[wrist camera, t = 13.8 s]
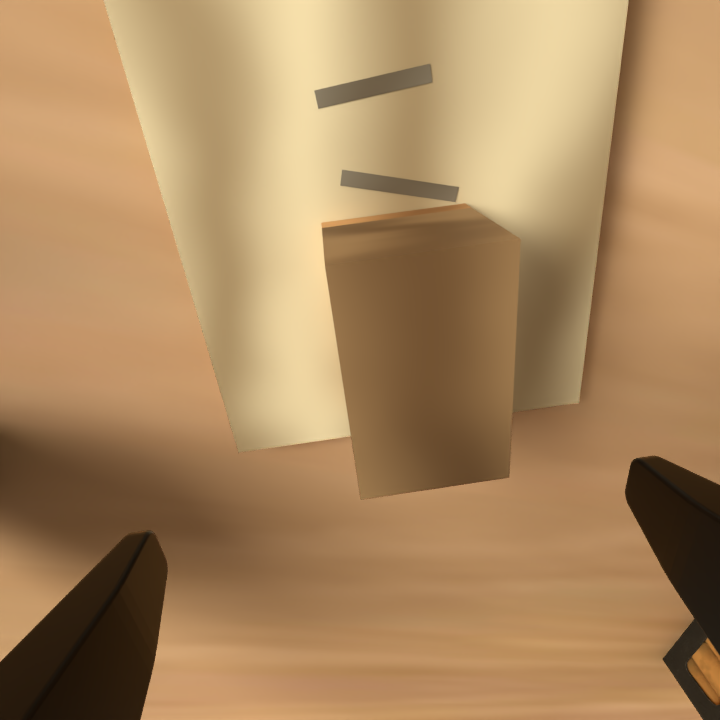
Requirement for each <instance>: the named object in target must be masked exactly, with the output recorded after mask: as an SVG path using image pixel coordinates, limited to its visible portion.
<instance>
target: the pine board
mask: <svg viewBox="0 0 720 720" xmlns="http://www.w3.org/2000/svg"><path fill="white" fill-rule="evenodd" d="M628 2H629V0H104V3H105V7H106V10H107V13H108V17H109V20H110V23H111V27H112V30H113V33H114V37H115V40H116V44H117V47H118V50H119V54H120V57H121V60H122V64H123V67H124V70H125V74H126V77H127V80H128V84H129V87H130V90H131V94H132V97H133V100H134V104H135V107H136V111H137V114H138V117H139V121H140V124H141V127H142V131H143V134H144V137H145V141H146V144H147V147H148V151H149V154H150V157H151V161H152V164H153V168H154V171H155V174H156V178H157V181H158V184H159V188H160V191H161V194H162V198H163V201H164V204H165V208H166V211H167V214H168V218H169V221H170V225H171V228H172V231H173V235H174V238H175V241H176V245H177V248H178V251H179V255H180V258H181V261H182V265H183V268H184V271H185V275H186V278H187V281H188V285H189V288H190V292H191V295H192V298H193V302H194V305H195V308H196V312H197V315H198V318H199V322H200V325H201V328H202V332H203V335H204V338H205V342H206V345H207V349H208V352H209V355H210V359H211V362H212V365H213V369H214V372H215V375H216V379H217V382H218V385H219V389H220V392H221V395H222V399H223V402H224V405H225V409H226V412H227V416H228V419H229V422H230V426H231V429H232V432H233V436H234V439H235V442H236V446H237V449H238V452H239V453H240V452H247V451H254V450H261V449H267V448H274V447H281V446H288V445H295V444H302V443H308V442H315V441H322V440H329V439H336V438H342V437H349V436H351V434H350V427H349V420H348V414H347V407H346V401H345V394H344V388H343V381H342V375H341V368H340V362H339V355H338V349H337V342H336V335H335V329H334V322H333V316H332V309H331V303H330V296H329V290H328V283H327V277H326V270H325V261H324V249H323V237H322V225H321V223H323V222H330V221H338V220H345V219H353V218H360V217H367V216H375V215H382V214H390V213H397V212H404V211H412V210H419V209H426V208H434V207H441V206H449V205H456V204H463V203H465V204H467V205H469V206H470V207H472V208H473V209H475V210H476V211H478V212H479V213H481V214H483V215H484V216H486V217H487V218H489V219H490V220H492V221H494V222H495V223H497V224H498V225H500V226H501V227H503V228H505V229H506V230H508V231H509V232H511V233H512V234H514V235H515V236H517V237H519V238H520V239H521V245H520V266H519V286H518V307H517V328H516V349H515V370H514V391H513V412H520V411H526V410H533V409H540V408H547V407H554V406H561V405H567V404H574V403H579V399H580V391H581V383H582V375H583V367H584V359H585V350H586V342H587V334H588V326H589V318H590V310H591V302H592V294H593V286H594V277H595V269H596V261H597V253H598V245H599V237H600V229H601V221H602V213H603V205H604V196H605V188H606V180H607V172H608V164H609V156H610V148H611V140H612V132H613V124H614V115H615V107H616V99H617V91H618V83H619V75H620V67H621V59H622V51H623V43H624V34H625V26H626V18H627V10H628ZM513 412H512V413H513Z"/></svg>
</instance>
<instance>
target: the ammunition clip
mask: <svg viewBox="0 0 720 720" xmlns="http://www.w3.org/2000/svg"><path fill="white" fill-rule="evenodd" d="M663 661H664V662H665V664H666V665H667V667H668V668H669V669H670V671H671V672H672V674H673V675H674V677H675V678H676V680H677V681H678V683H679V684H680V686H681V687H682V689H683V690H684V692H685V693H686V695H687V696H688V698H689V699H690V701H691V702H692V704H693V705H694V707H695V708H696V710H697V711H698V713H699V714H700V716H701V717H702V719H703V720H720V655H719V654H718V652H717V651H716V649H715V648H714V646H713V645H712V644H711V642H710V641H709V639H708V638H707V636H706V635H705V633H704V632H703V630H702V629H701V627H700V626H699V624H698V623H697V621H696V620H695V619H694V620H693V622H692V623H691V624H690V625H689V627H688V628H687V629H686V630H685V632H684V633H683V634H682V635H681V637H680V638H679V639H678V640H677V642H676V643H675V644H674V645H673V647H672V648H671V649H670V650H669V652H668V653H667V654H666V655H665V657H664V658H663Z"/></svg>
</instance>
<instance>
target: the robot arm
mask: <svg viewBox="0 0 720 720" xmlns="http://www.w3.org/2000/svg"><path fill="white" fill-rule="evenodd" d="M625 496H626V500H627V503H628V505H629V507H630V509H631V510H632V512H633V514H634V516H635V518H636V520H637V522H638V524H639V525H640V527H641V529H642V531H643V533H644V535H645V537H646V538H647V540H648V542H649V544H650V546H651V548H652V550H653V552H654V553H655V555H656V557H657V559H658V561H659V563H660V565H661V566H662V568H663V570H664V572H665V573H666V575H667V577H668V579H669V580H670V582H671V583H672V585H673V586H674V588H675V590H676V591H677V593H678V594H679V596H680V597H681V599H682V600H683V602H684V603H685V605H686V606H687V608H688V609H689V611H690V612H691V614H692V615H693V617H694V618H695V620H696V621H697V623H698V624H699V626H700V627H701V629H702V630H703V632H704V633H705V635H706V636H707V638H708V639H709V641H710V642H711V644H712V645H713V646H714V648H715V649H716V651H717V652H718V654H719V655H720V485H719V484H716V483H714V482H712V481H710V480H708V479H706V478H704V477H701V476H699V475H697V474H695V473H693V472H691V471H689V470H686V469H684V468H682V467H680V466H678V465H676V464H674V463H671V462H669V461H667V460H665V459H663V458H660V457H658V456H648V457H641V458H636V459H634V460H633V461H632V462H631V465H630V470H629V475H628V479H627V484H626V489H625ZM166 580H167V561H166V558H165V556H164V553H163V551H162V549H161V546H160V544H159V542H158V539H157V537H156V535H155V533H154V532H153V531H149V530H147V531H140V532H134V533H130V534H128V535H126V536H125V537H124V538H123V539H122V540H121V541H120V542H119V543H118V544H117V545H116V546H115V547H114V548H113V549H112V550H111V551H110V552H109V553H108V554H107V555H106V556H105V557H104V558H103V559H102V560H101V561H100V562H99V563H98V564H97V565H96V566H95V567H94V568H93V569H92V570H91V571H90V572H89V573H88V574H87V575H86V576H85V577H84V578H83V579H82V580H81V581H80V582H79V583H78V584H77V585H76V586H75V587H74V588H73V589H72V590H71V591H70V592H69V593H68V594H67V595H66V596H65V597H64V598H63V599H62V600H61V601H60V602H59V603H58V604H57V605H56V606H55V607H54V608H53V609H52V610H51V611H50V612H49V613H48V614H47V615H46V616H45V617H44V618H43V619H42V620H41V621H40V622H39V623H38V624H37V625H36V626H35V627H34V628H33V629H32V631H31V632H30V633H29V634H28V635H27V636H26V637H25V638H24V639H23V640H22V641H21V642H20V643H19V644H18V645H17V646H16V647H15V648H14V649H13V650H12V651H11V652H10V653H9V654H8V655H7V656H6V657H5V658H4V659H3V660H2V661H1V662H0V720H140V719H141V715H142V711H143V707H144V703H145V699H146V695H147V691H148V687H149V683H150V679H151V675H152V670H153V666H154V661H155V656H156V650H157V644H158V636H159V629H160V622H161V615H162V608H163V601H164V594H165V587H166Z"/></svg>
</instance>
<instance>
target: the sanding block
mask: <svg viewBox="0 0 720 720" xmlns="http://www.w3.org/2000/svg"><path fill="white" fill-rule="evenodd" d="M321 225H322V237H323V249H324V261H325V270H326V277H327V283H328V290H329V296H330V303H331V309H332V316H333V322H334V329H335V335H336V342H337V349H338V355H339V362H340V368H341V375H342V381H343V388H344V394H345V401H346V407H347V414H348V420H349V427H350V434H351V440H352V447H353V453H354V460H355V466H356V473H357V479H358V486H359V492H360V499H361V500H363V499H370V498H377V497H383V496H390V495H397V494H403V493H410V492H416V491H423V490H430V489H436V488H443V487H450V486H456V485H463V484H470V483H476V482H483V481H490V480H496V479H503V478H509V474H510V453H511V432H512V412H513V391H514V370H515V349H516V328H517V307H518V286H519V266H520V245H521V239H520V238H519V237H517V236H515V235H514V234H512V233H511V232H509V231H508V230H506V229H505V228H503V227H501V226H500V225H498V224H497V223H495V222H494V221H492V220H490V219H489V218H487V217H486V216H484V215H483V214H481V213H479V212H478V211H476V210H475V209H473V208H472V207H470V206H469V205H467V204H465V203H463V204H456V205H449V206H441V207H434V208H426V209H419V210H412V211H404V212H397V213H390V214H382V215H375V216H367V217H360V218H353V219H345V220H338V221H330V222H323V223H321Z"/></svg>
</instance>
